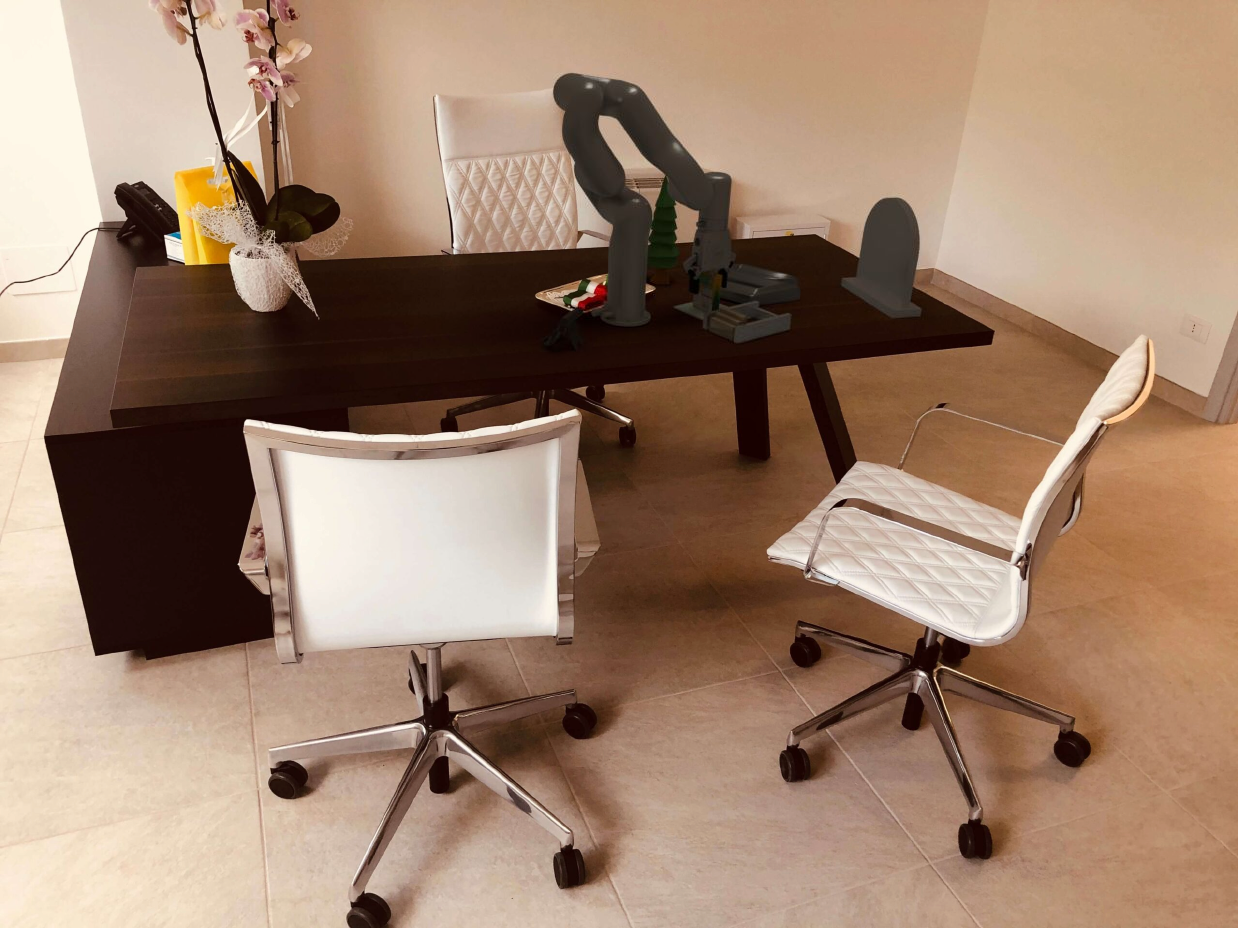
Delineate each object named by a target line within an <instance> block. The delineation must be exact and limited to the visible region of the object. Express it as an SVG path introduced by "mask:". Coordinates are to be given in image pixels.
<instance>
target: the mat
mask: <svg viewBox="0 0 1238 928" xmlns="http://www.w3.org/2000/svg"><path fill="white" fill-rule="evenodd" d="M722 307H726V308H727V307H728V306H727V305H724V304H722V303H720V304H719V309H720V308H722ZM673 309H675V310H678V311H680V312H683V313H685V314H687V315H690V316H691V317H694V318H695V319H698V320H701V321H703V318H704V313H706V312H707V311H705V310H702V309H700V308H698V307H695V306H693V301H691V302H686V303H683V304H679V305H674V306H673Z"/></svg>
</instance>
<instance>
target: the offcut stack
mask: <svg viewBox="0 0 1238 928" xmlns="http://www.w3.org/2000/svg"><path fill="white" fill-rule="evenodd" d="M747 323H748V319H747V316H746V315H743V314H741V313H738V312H736V311H733V310H731V309H728V308H726V307H722V308H720V312H717V313H715V317H712V318H710V329H708V330H709V332H711V333H713V334H714V335H718V336H720V337H722V338H724V339H727V340H728V339H729V341H731V342H732V341H733V342H734V335H735V326H739V325H743V324H747Z"/></svg>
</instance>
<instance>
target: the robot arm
mask: <svg viewBox="0 0 1238 928" xmlns="http://www.w3.org/2000/svg"><path fill="white" fill-rule="evenodd" d="M552 96H553V99H554V102H555V103H556V104H555V105H557V106H558V107H559V109H561V110H562V111H563V112H564V113H563V117H562V125H561V134H562V136H561V137H562V141H563V144H564V145H565V148H566V149H567V151H568V153H569V155H570V156H571V158H572V160H573V162H574V164H573V173H574V178H575V179H576V180H575V181H576V182H577V184H578V186H579V187H580V189H582V191H583V193H584V194H585V196H586V197H587V199H588V200H589V202H590V203H591V204H592V206H593V207H594V209H595V210H596V212H597V213H598V215H600V216H601V218H603V220H604V221H606V222H607V223H609V224H611V225H612V229H611V230H612V231H611V234H610V237H609V244H608V263H607V264H608V265H607V268H608V269H607V271H608V273H607V300H606V301H603V305H601V307H596V308H592V309H591V310H590V311H591V312H590V313H591V316H592V317H594V318H595V317H599V316H600V319H601V320H602V321H603V322H604V323H606V324H608V325H610V326H611V325H612V326H617V327H628V328H629V327H639V326H643V325H646V324H648V323H649V322H650V321H651V313H650V312H649V311H647V310H646V294H647V292H646V291H647V271H648V265H647V257H648V256H647V252H648V247H649V236H650V234H651V225H652V221H653V214H654V213H653V209H652V207H651V204H650V202H649V201H648V200H647V199H646V197H645V196H644V195H642V194H640V193H639V192H637V191H635V190H633V189H631V188H629V187H628V186H627V185H626V180H627V179H626V177H627V176H626V171H625V169H624V167H623V165H622V164H621V163H622V162H620V160H619V159H618V158H617V156H616V155H615V153H614V152H613V151H612V149H611V148H610V146H609V144H608V142H606V139H605V137H604V136H603V134H602V132H601V130H600V126H599V121H600V117H601V116H602V117H608V118H609V117H610V118H613V119H616V120H617V122H618V123H619V124H620V125H621V127H622V128H623V130H624V132H625V133H626V134H627V135H628V137H629V138H630V140H631V141H632V142H633V144H634V146H635V147H636V148H637V150H638V151H639V153H640V154H641V155H642V156H643V157H644V158H645V159H646V160H647V162H649V163H650V164H651V165H652V166H654V167H655V168H656V169H658V170H659V171H660V172H661V173H662V174H664V176H665V175H666V176H667V179H668V184H667V191H668V194H669V195H670V197H671V198H672V199H673V200H675V202H676V203H679V204H680V205H682V206H684V207H686V208H688V209H690V210H691V211H695V212H696V211H697V212H698V218H697V222H695V226H696V227H697V228H696V230H695V233H694V237H693V242H692V250H691V256H689V257H688V258H687V259H686V260H685V261H683V262H682V266H683V268H684V272H685V274H686V275H687V277H688V278H689V279H688V281H689V283H688V292H689V293H691V294H693V295H694V294H696V295H697V294H698V293H699V283H700V279H698V277H699V276H700V274H701V273H702V271H703V272H709V271H712V270H713V269H715V270H718V273H717V274H720V275H722V284H721V287H722V288H726V287H727V277H728V273H729V272H730V268H731V267H732V265H733V264H734V262H735V260H736V257H737V254H736V253H735V252H733V251H732V236H731V231H730V228H729V218H730V217H729V216H730V206H731V195H732V194H731V193H732V183H733V182H732V181H733V180H732V177H731V175H730V174H728V173H727V172H721V171H708V172H704V170H703V168H702V167H701V165H700V164H699V163H698V162H697V160H696V159H695V158H694V157H693V156H692V154H691V153H690V152H689V151H688V149H686V147H685V146H684V145H683V144H682V143H681V141H680V140H679V139H678V137H676V136H675V134H674V133H673V132H672V131H671V130H670V128H669V126H668V125H667V123H666V122H665V121H664V120H663V118H662V116H661V115H660V113H659V111H658V109H656V107H655V106H654V104H653V103H652V101H651V99H650V98H649V96H648V95H647V93H645V91H644V90H643V89H642V88H641V87H640V86H638V85H637V84H635V83H633V82H629V81H625V80H622V79H615V78H608V77H607V78H606V77H600V76H594V75H588V74H584V73H582V74H581V73H577V72H576V73H575V72H569V73H565V74H563V75H561V76H560V77H558V79H557V80H556V81H555V83H554V85H553V88H552ZM719 269H720V270H719ZM696 270H697V271H696Z"/></svg>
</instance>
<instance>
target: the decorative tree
mask: <svg viewBox="0 0 1238 928" xmlns="http://www.w3.org/2000/svg"><path fill="white" fill-rule="evenodd" d="M668 181H669V179H668V177H667V176H666V175H665V174H664V178H663V181H662V183H661V186H660V191H659V194H658V197H657V200H656V202H655V205H654V207H655V209H654V211H653V213H652V214H653V218H652V225H651V229H650V234H649V240H648V252H647V266H649V267H654V268H655V272H654V274H653V275H652V276H651V278H650V279H649V281H650V282H651V283H652V284H655V285H670V283H671V279H670V276H669V273H668V268H674V267H676V266H677V265H678V264H679V262H678V260H677V256H680V252H679V250H678V248H677V245H676V242H677V240H678V237H677V234H676V230H678V225H677V221H676V219H678V215H677V212H676V208H675V206H677V202H676V201H675V200H673V199H672V198H671V197H670V195H669V194H668V191H667V184H668Z"/></svg>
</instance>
